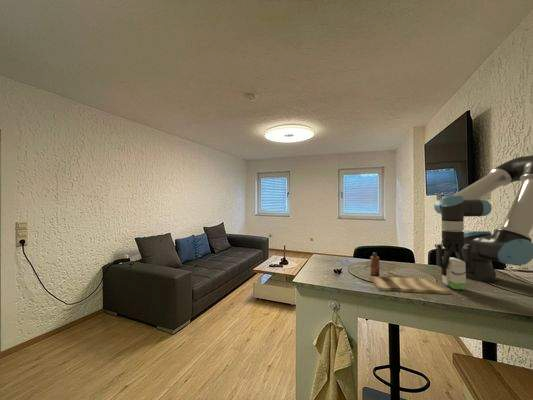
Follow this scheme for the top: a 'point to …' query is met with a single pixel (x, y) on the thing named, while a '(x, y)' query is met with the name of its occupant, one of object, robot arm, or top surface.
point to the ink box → (456, 273)
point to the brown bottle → (375, 265)
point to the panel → (408, 285)
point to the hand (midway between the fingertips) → (453, 282)
